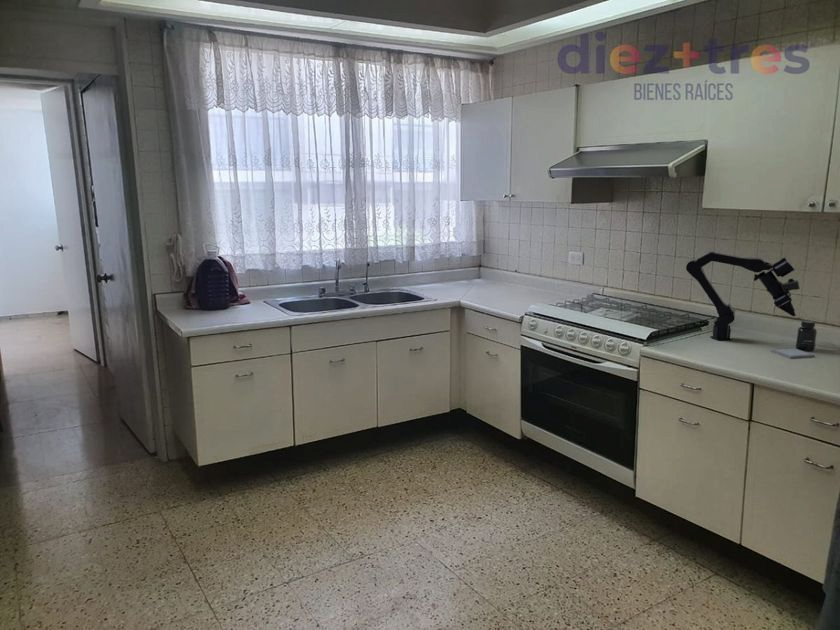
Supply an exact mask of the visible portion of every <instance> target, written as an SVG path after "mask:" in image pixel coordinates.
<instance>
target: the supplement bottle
mask: <svg viewBox="0 0 840 630" xmlns="http://www.w3.org/2000/svg"><path fill="white" fill-rule="evenodd" d="M800 325H801V326H800V327H798V329H797V333H796V341H795V348H796V349H799V350H802V351H805V352H814V351H815V348H816V341H817V334H818V333H817V332H818V331H817V329H816V328H815V326H816V322H815V321H812V320H802V321H801V324H800Z"/></svg>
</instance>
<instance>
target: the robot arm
mask: <svg viewBox="0 0 840 630" xmlns="http://www.w3.org/2000/svg"><path fill="white" fill-rule="evenodd" d="M711 262H715V263H719V264H720V263H721V264H727V265H731V266H736V267H740V268H743V269H746V270H748V271H750V272H753V273H755V274H753V275H754V278H753V282H756V281H757V280H759V281H760V283H761V284H762V285H763V287H764V288H765V289H766V292H767V293H769V294H770V296H771V297H772V298H771V299H772V300H773V304H774V305H775V306H776V308H778V309H780V310H782V311H783V312H785V313H787V314H789V316H791V317H795V316H797V314H796V313H795V312H796V310H795V308H794V306H793V304H792V297H791V296H792V295H791V292H790V291H795V290H800V284H799V280H797V279H796V280H794V278H788V280H787V281H786V282H783V283H782V281H780V280H779V279H778V277H781V278H785V276H787V275H789V274H791V273H792V272H794V271H795V270H796V269H795V268H794V266H793V265H792V264H791V262H789V261H788V260H787V258H786V257H785V256H784V257H782V258H781V259H779V260H778V261H776V262H774V263H771V262H768V261H765V260H764V259H763V258H761V257H753V256H752V257H742V256H741V257H740V256H736V255H731V254H725V253H721V252H716V251H709V252H708V253H706V254H705V255H703V256H701V257H699V258H698V259H691V260H689V261H688V262H687V264H686V266H685V270H686V271H687V273H688V274H689V275H690V276H692V278H694V280H696V281H697V282H698V283H699V285H700V287H701V288H702V289H703V291H704V292H705V293H706V295H707V297H708V298H709V300H710V301H711V303H712V304H713V305H714V307H715V310H716V313H717V315H718V316H717V317H716V318H715V320H714V324H713V325H712V326H713V327H712V335H710V338H711V339H713V340H717V341H732V338H731V331H732V329H731V325H730V324H732V323H734V320H735V318H736V310H735V309H734V308H733V306H732V305H731V302H729V303H728V304H727V303H725V302H724V300H723V299H722V298H721V296H720V294H719V293H718V291H717V290H716V289H715V287H714V286H713V284H712V282H711V281H710V279H708V277H707V275H706V273H705V270H704V267H705V266H706V265H708V264H709V263H711ZM756 273H757V274H756ZM776 276H777V277H776Z"/></svg>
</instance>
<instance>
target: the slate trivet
mask: <svg viewBox="0 0 840 630" xmlns="http://www.w3.org/2000/svg"><path fill="white" fill-rule="evenodd" d="M770 352H772V353H773V352H774V353H773V354H776V353H777V355H779V356H782V357H784V356H785V358H788V359H790V360H791V359H803V358H805V359H806V358H815V357H816V355H815V354H812V353H810V352H809V351H802V350H799V349H796V347H795V348H794V347H791V348H775V349H770Z"/></svg>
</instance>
